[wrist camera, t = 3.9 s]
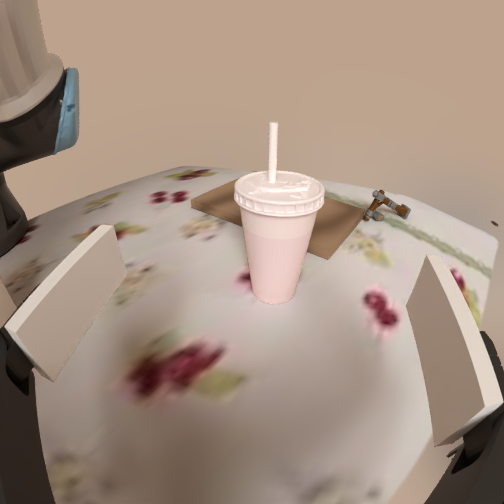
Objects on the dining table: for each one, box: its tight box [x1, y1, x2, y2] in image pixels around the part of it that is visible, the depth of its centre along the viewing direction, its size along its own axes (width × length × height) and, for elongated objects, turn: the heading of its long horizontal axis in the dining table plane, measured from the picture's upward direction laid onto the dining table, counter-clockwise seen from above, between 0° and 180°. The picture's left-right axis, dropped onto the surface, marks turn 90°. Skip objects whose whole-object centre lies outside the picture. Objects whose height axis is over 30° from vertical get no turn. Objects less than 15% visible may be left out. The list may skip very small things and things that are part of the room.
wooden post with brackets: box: [363, 190, 411, 221], centre depth 36 cm, size 2×8×4 cm, turn 108°
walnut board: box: [191, 179, 365, 260], centre depth 37 cm, size 20×12×1 cm, turn 53°
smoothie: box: [234, 122, 325, 304], centre depth 21 cm, size 6×6×14 cm
